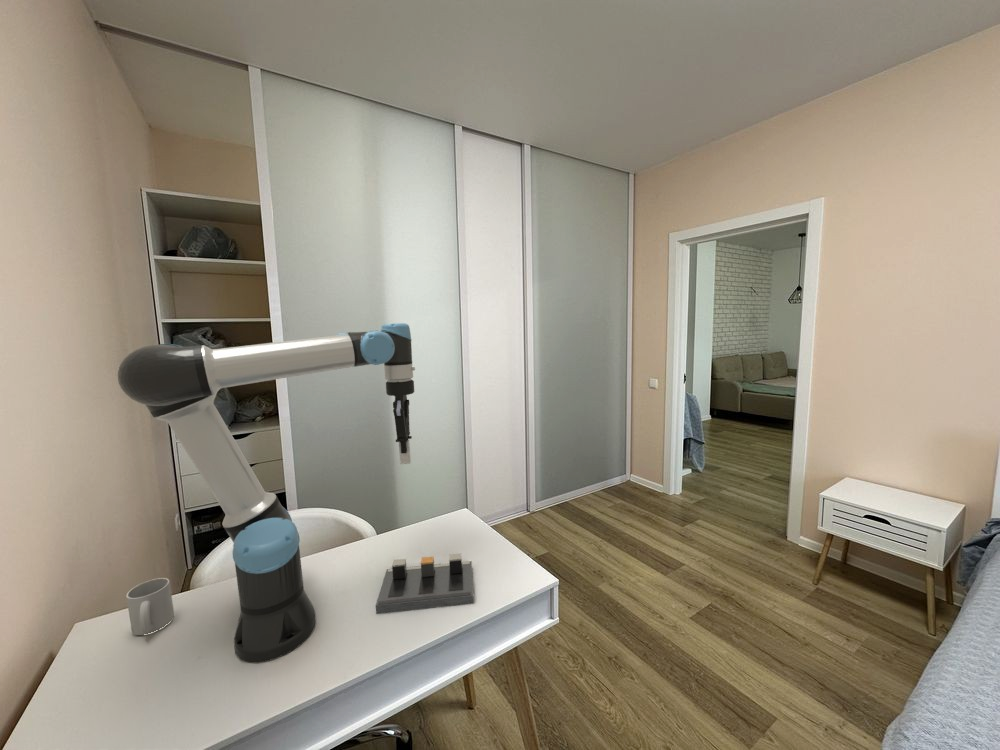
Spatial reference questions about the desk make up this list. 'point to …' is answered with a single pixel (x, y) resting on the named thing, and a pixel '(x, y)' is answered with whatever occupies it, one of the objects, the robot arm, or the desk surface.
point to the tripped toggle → (427, 566)
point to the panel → (426, 586)
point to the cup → (150, 606)
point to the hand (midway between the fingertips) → (405, 463)
